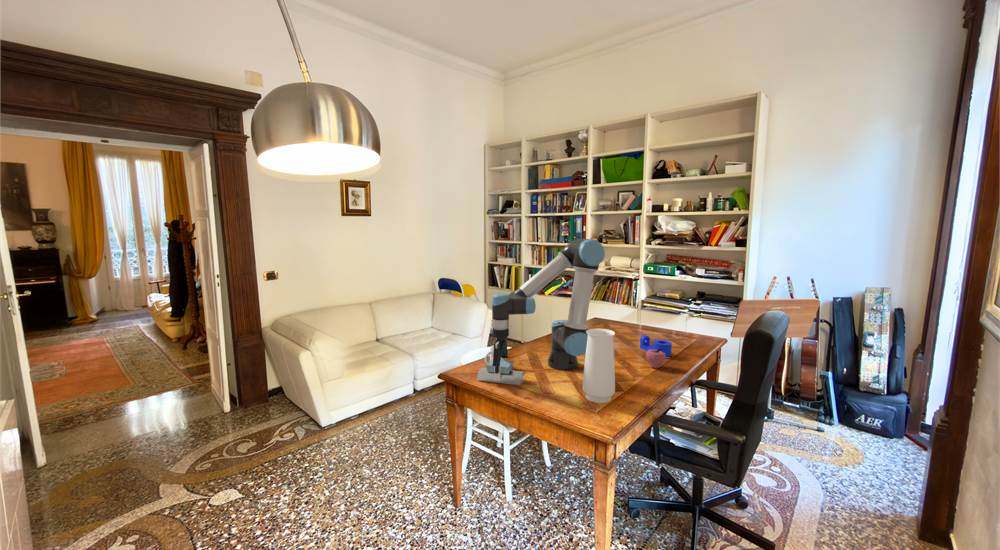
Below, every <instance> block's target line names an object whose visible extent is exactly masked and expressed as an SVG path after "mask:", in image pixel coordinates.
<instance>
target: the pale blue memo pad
mask: <svg viewBox="0 0 1000 550" xmlns="http://www.w3.org/2000/svg"><path fill="white" fill-rule="evenodd" d="M492 364H493V359H492V360H491V361H490V360H489V361H488V364H487V365H486V368H487V372H490V373H494V366H492ZM500 366H501V373H505V374H506V375H510V371H511V370H513V368H514V360H509V359H506V360H500Z"/></svg>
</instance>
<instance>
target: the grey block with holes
mask: <svg viewBox="0 0 1000 550" xmlns="http://www.w3.org/2000/svg"><path fill="white" fill-rule="evenodd" d="M477 381H479V382H480V381H481V382H490V383H496V384H497V383H498V384H505V385H513V386H521V385H522V383H523V381H524V371H522V370H513V369H511V371H510V375H506V374H505V373H501V380H494V373H490V372H487V367H483V366H482V367H481V368H480V369H479V370H478V371H477Z"/></svg>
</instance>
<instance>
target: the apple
mask: <svg viewBox="0 0 1000 550" xmlns="http://www.w3.org/2000/svg"><path fill="white" fill-rule="evenodd" d="M645 352H646V351H645ZM645 358H646V361H647V362H648V363H649V366H650V367H651V368H653V367H654V369H659V368H661V366H662V365H663V363H664V362H665V361H666V360H667V358H666V355H665V353H664V352H662V351H661V349H659V350H652V349H651V350H648V351H647V352H646V353H645Z"/></svg>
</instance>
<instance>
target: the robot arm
mask: <svg viewBox="0 0 1000 550" xmlns="http://www.w3.org/2000/svg"><path fill="white" fill-rule="evenodd" d="M605 251H606V250H605V248H604V246H603V244H602V243H601V242H599V241H598V240H596V239H592V238H584V237H583V238H581V237H580V238H576V239H574V240H572V241H570V243H568V244H566V246H564V247H563V248H562V249H561V250H559V252H557V256H556V257H554V258H553V259H552V260H550V261H549V262H548V263H547V264H546V265H545V266H543V267H542V268H541V269H540V270H539V271H538V272H536V273H535V274H534V275H533V276H532V277H530V278H529V279H528V280H527V281H525V282H524V283H523V284H522V285H521V286H519V287H518V288H517V289H516V290H514V291H510V292H509V293H505V292H504V293H501V292H499V293H498V292H497V293H495V294H493V296H492V301H491V302H492V303H491V306H492V307H491V311H492V313H491V314H492V316H491V317H492V320H491V323H492V324H491V325H492V326H491V327H492V331H491V332H492V333H491V336H492V337H493V338H495V341H494V343H493V345H494V354H493V364H492V366H494V380H501V366H500V360H507V359H509V355H508V337H509V336H510V329H509V328H510V316H511V315H530V314H531V315H533V314H534V313H535V311H536V307H537V306H536V301H535V298H534V296H535V295H536V294H538V293H539V292H540V291H541V290H542V289H544V287H545V288H546V286H547V285H548V284H549V283H551V282H552V281H553V280H555V279H556V278H557V277H558V276H559V275H561V274H562V273H563V272H564V271H565V270H566V269H568V268H573V269H574V270H575V271H574V277H573V284H572V290H571V295H570V296H571V297H570V303H569V309H568V317H567V319H556V320H553V321H552V323H551V350H550V353H549V355H548V359H547V365H548V366H549V367H550V368H553V369H556V370H562V371H568V370H569V371H570V370H574V369H576V368H578V366H579V361H578V357H579V356H583V355H584V354H586V346H587V338H588V334H587V333H586V331H587V330H589V329H590V328H589V325H587V320H588V313H589V307H590V301H591V294H592V288H593V282H594V274H595V273H596V272H598V271H599V268H600V267H599V266H600V264H601V263H602V262H603V261H604V259H605V253H606V252H605Z"/></svg>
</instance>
